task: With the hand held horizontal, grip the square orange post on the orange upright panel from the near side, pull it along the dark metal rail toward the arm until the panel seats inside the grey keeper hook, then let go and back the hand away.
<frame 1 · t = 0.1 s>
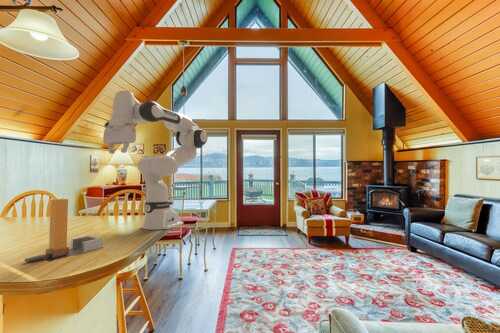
hand: (117, 153, 112), 39 cm above the table, tool pointing down, fingers open, 8 cm apart
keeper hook: (84, 248, 90), resting on rail plate
rail plate: (72, 253, 86), on the table
orange upright panel: (48, 228, 80), point 11 cm above the table, slide at 0.0 cm
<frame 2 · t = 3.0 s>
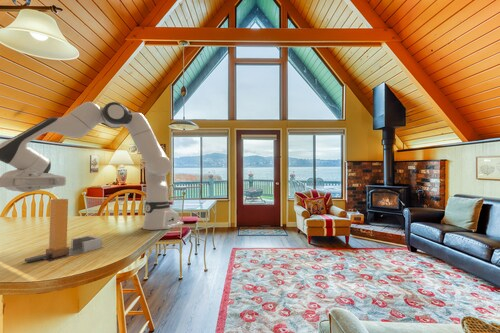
hand: (42, 181, 89), 26 cm above the table, tool horizontal, fingers open, 8 cm apart
nothing on the table moved.
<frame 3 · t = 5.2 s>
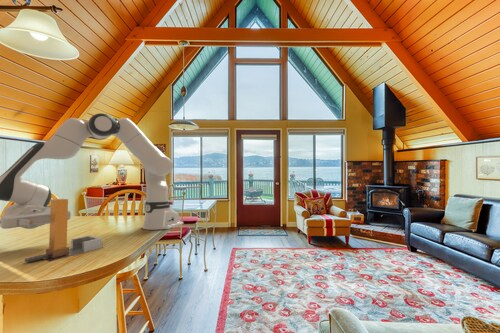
hand: (47, 220, 87), 12 cm above the table, tool horizontal, fingers open, 8 cm apart
nothing on the table moved.
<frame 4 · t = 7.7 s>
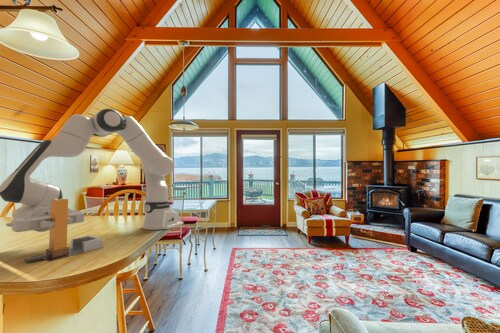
hand: (61, 223, 82), 12 cm above the table, tool horizontal, fingers closed on orange upright panel, 4 cm apart
orange upright panel: (48, 228, 80), point 11 cm above the table, slide at 0.0 cm, touching gripper
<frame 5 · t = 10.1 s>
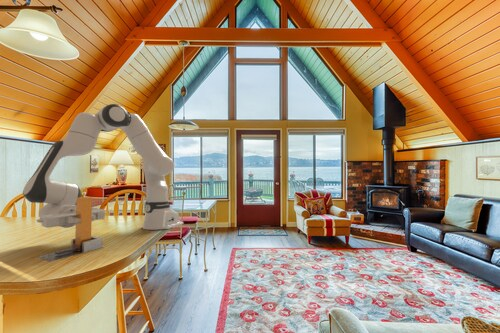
hand: (86, 219, 89), 12 cm above the table, tool horizontal, fingers closed on orange upright panel, 4 cm apart
orange upright panel: (74, 224, 87), point 11 cm above the table, slide at 8.0 cm, touching gripper
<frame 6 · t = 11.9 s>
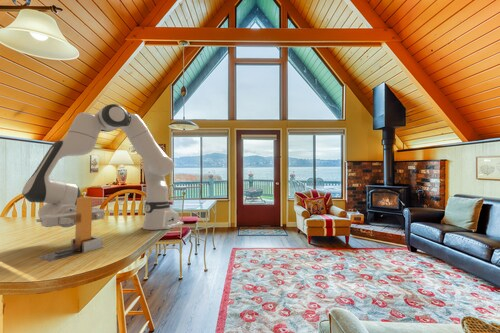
hand: (85, 219, 89), 12 cm above the table, tool horizontal, fingers open, 8 cm apart
orange upright panel: (74, 224, 87), point 11 cm above the table, slide at 8.0 cm
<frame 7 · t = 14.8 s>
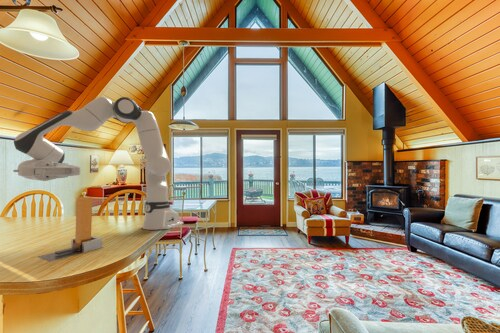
hand: (60, 171, 96), 30 cm above the table, tool horizontal, fingers open, 8 cm apart
nothing on the table moved.
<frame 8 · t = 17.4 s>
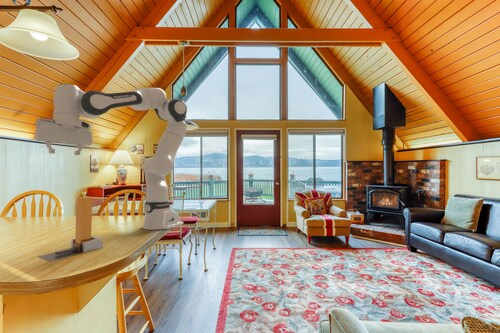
hand: (65, 154, 102), 37 cm above the table, tool pointing down, fingers open, 8 cm apart
nothing on the table moved.
at the end: orange upright panel slide at 8.0 cm; orange upright panel 0.5 cm from the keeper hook (horizontally); the gripper is holding nothing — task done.
